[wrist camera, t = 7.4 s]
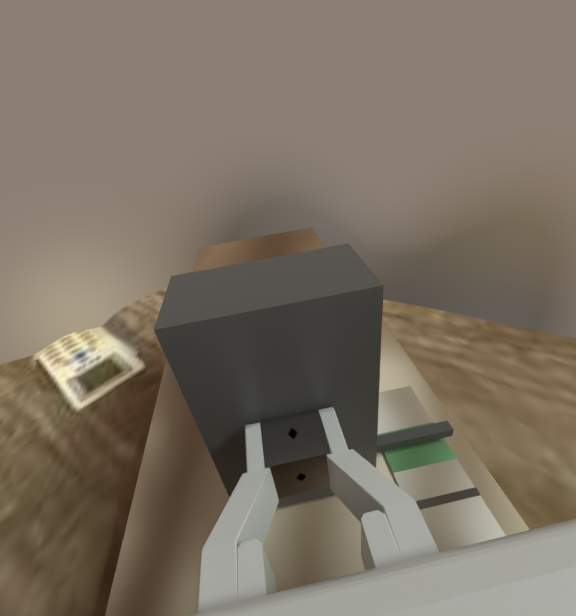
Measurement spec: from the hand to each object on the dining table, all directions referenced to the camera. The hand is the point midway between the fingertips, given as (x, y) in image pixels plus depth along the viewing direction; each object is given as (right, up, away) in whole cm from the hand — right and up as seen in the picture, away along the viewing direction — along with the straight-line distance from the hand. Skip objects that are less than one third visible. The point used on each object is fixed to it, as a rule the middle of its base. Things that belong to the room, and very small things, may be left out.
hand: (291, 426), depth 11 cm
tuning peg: (+2, -1, +8) cm, 8 cm away
